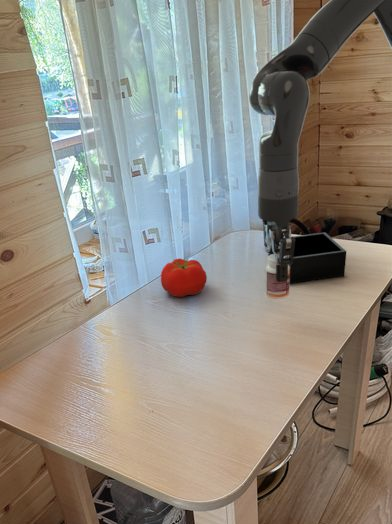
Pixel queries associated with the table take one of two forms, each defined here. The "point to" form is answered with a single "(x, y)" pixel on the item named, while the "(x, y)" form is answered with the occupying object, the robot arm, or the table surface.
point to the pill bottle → (275, 281)
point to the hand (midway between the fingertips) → (277, 275)
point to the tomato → (183, 277)
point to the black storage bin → (316, 259)
